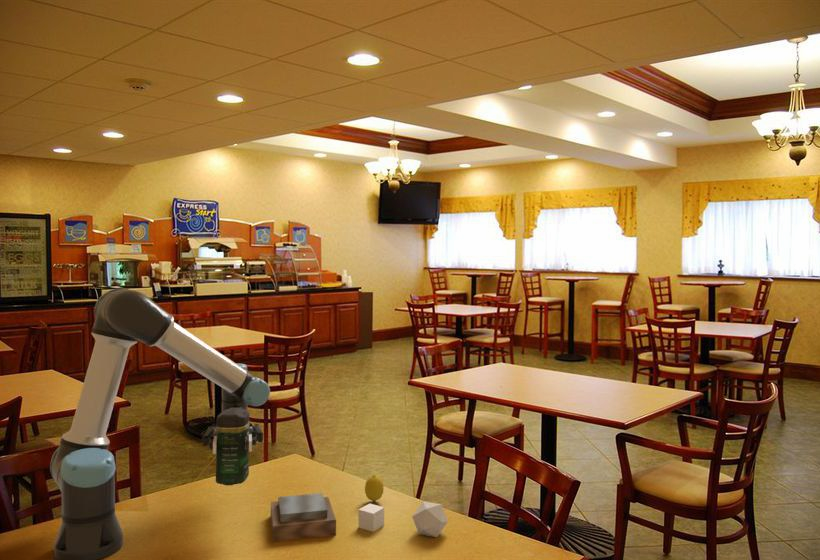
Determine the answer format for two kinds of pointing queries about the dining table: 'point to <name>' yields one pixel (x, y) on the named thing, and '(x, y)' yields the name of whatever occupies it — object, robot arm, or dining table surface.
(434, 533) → the die
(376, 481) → the lemon
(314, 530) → the tower stand
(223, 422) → the coffee jar
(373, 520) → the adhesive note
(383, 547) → the dining table surface
